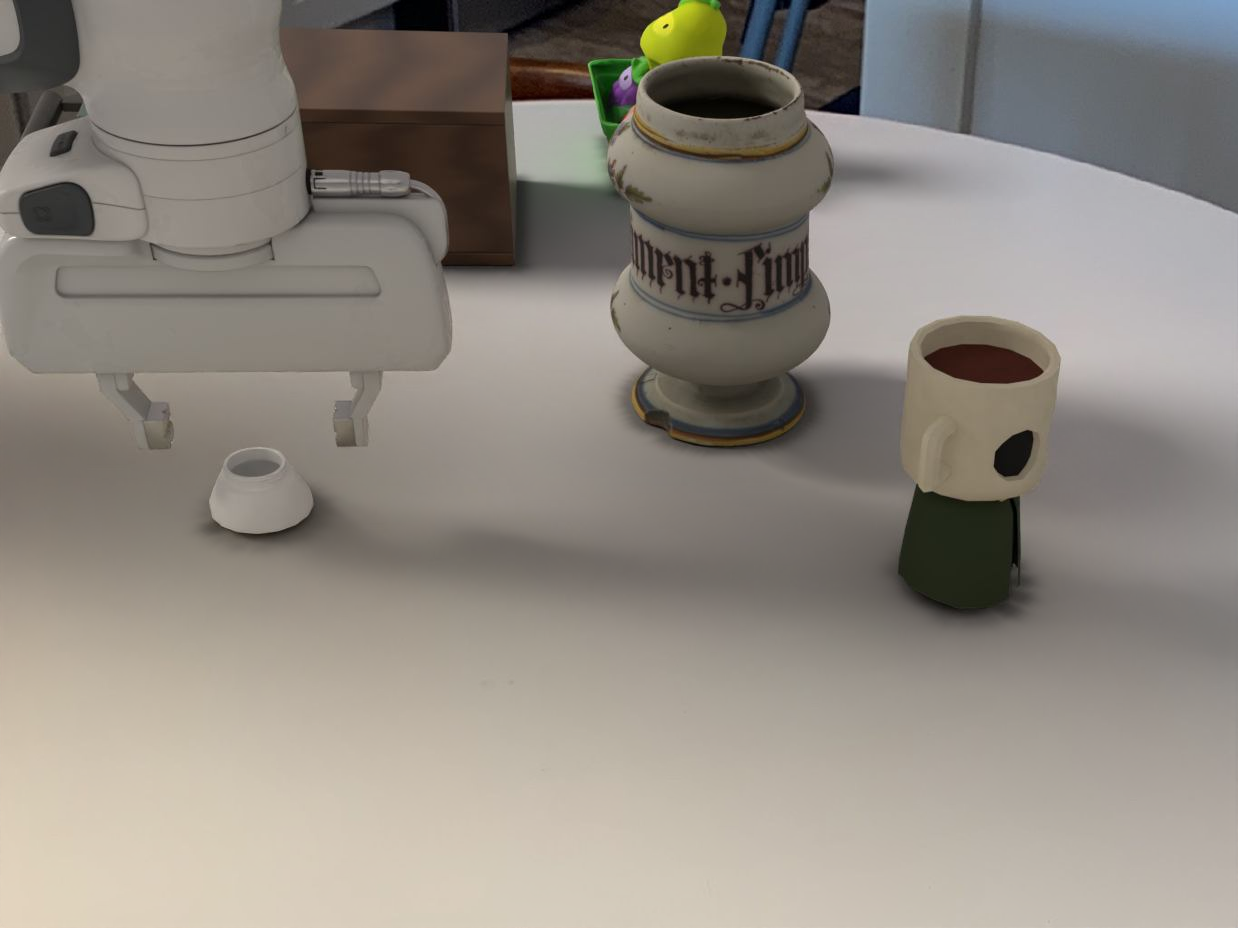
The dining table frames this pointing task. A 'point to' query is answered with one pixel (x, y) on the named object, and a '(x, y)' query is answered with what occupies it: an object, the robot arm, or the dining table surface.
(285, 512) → the white jar
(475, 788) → the dining table surface
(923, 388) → the character mug
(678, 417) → the apothecary jar
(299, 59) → the cabinet
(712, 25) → the fruit basket
